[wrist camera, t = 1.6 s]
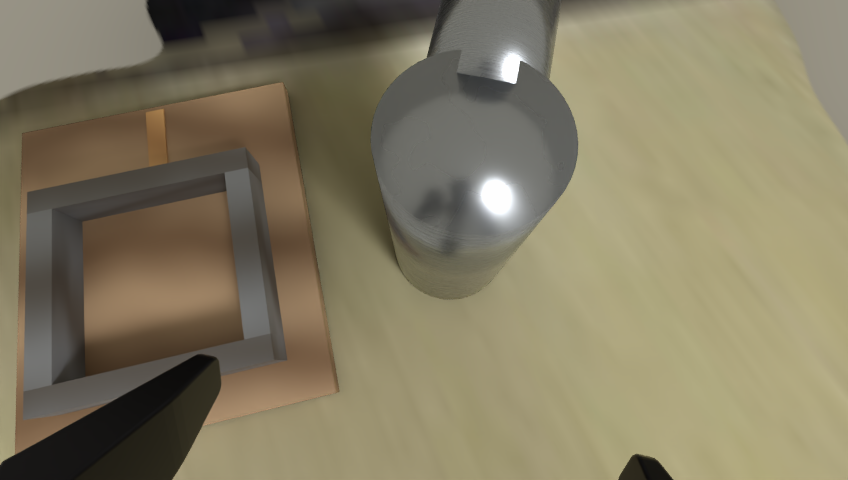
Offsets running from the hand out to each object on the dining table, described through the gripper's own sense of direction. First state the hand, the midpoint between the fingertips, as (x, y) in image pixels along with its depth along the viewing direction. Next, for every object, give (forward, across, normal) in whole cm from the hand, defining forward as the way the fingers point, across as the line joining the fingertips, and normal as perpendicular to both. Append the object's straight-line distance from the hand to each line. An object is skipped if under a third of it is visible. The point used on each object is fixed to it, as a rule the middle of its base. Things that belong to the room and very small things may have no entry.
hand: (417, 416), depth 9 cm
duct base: (+12, +15, +7) cm, 20 cm away
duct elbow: (+16, 0, +3) cm, 16 cm away
